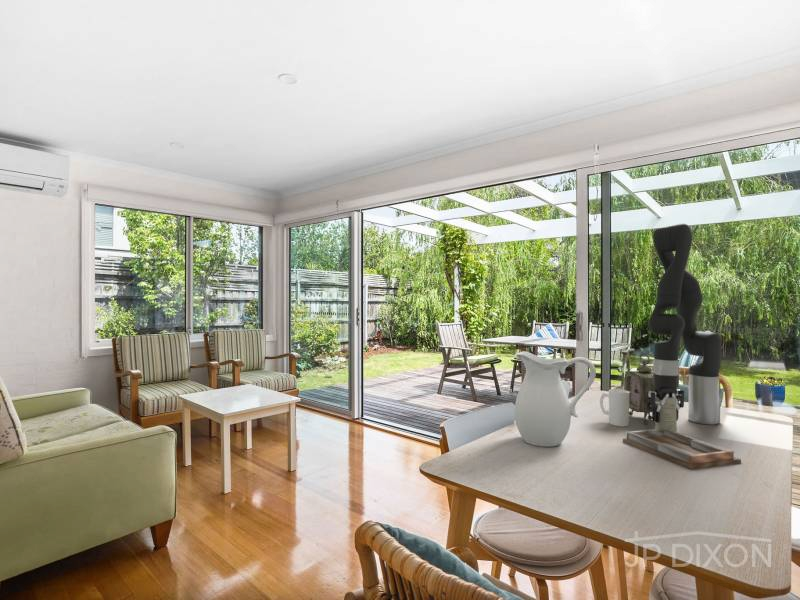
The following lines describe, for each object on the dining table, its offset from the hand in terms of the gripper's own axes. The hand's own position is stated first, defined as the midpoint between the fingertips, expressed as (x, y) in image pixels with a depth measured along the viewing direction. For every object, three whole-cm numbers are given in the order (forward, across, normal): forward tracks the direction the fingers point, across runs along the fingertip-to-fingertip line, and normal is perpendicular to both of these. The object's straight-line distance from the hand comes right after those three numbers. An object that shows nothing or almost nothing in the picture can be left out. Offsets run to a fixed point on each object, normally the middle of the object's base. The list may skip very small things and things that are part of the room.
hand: (665, 421), depth 154 cm
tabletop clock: (+4, -6, -15) cm, 17 cm away
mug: (+4, +8, -14) cm, 17 cm away
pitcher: (+4, +44, -1) cm, 44 cm away
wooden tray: (+4, +12, +16) cm, 21 cm away
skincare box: (+4, 0, 0) cm, 4 cm away
